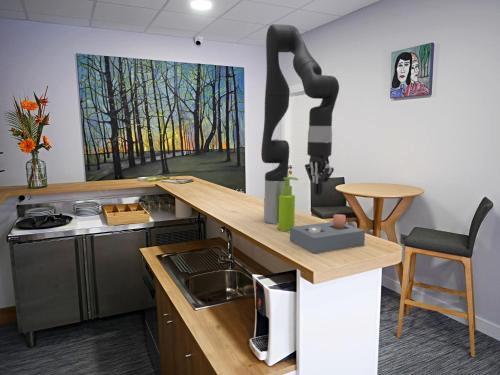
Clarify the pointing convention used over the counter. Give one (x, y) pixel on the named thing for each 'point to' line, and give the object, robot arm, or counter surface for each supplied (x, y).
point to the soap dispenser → (286, 206)
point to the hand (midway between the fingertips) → (317, 194)
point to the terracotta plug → (339, 221)
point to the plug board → (326, 237)
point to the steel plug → (314, 229)
